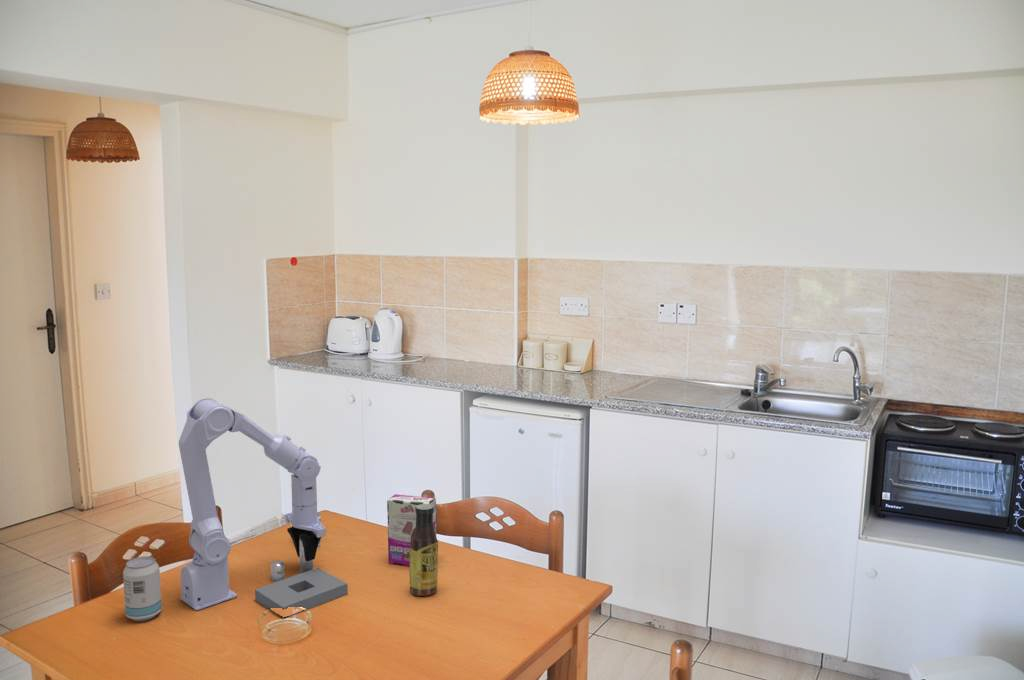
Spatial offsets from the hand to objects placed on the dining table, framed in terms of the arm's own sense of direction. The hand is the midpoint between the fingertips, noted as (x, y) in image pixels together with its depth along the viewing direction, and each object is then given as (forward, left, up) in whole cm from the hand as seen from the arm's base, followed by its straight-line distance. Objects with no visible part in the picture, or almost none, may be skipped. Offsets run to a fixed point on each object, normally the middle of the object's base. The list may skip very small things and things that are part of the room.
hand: (306, 557), depth 191 cm
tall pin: (0, 0, -3) cm, 3 cm away
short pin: (-7, +1, -3) cm, 8 cm away
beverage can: (-36, +5, -4) cm, 37 cm away
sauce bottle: (+13, -28, -4) cm, 31 cm away
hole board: (-8, -11, -3) cm, 14 cm away
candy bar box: (+21, -14, -4) cm, 25 cm away
